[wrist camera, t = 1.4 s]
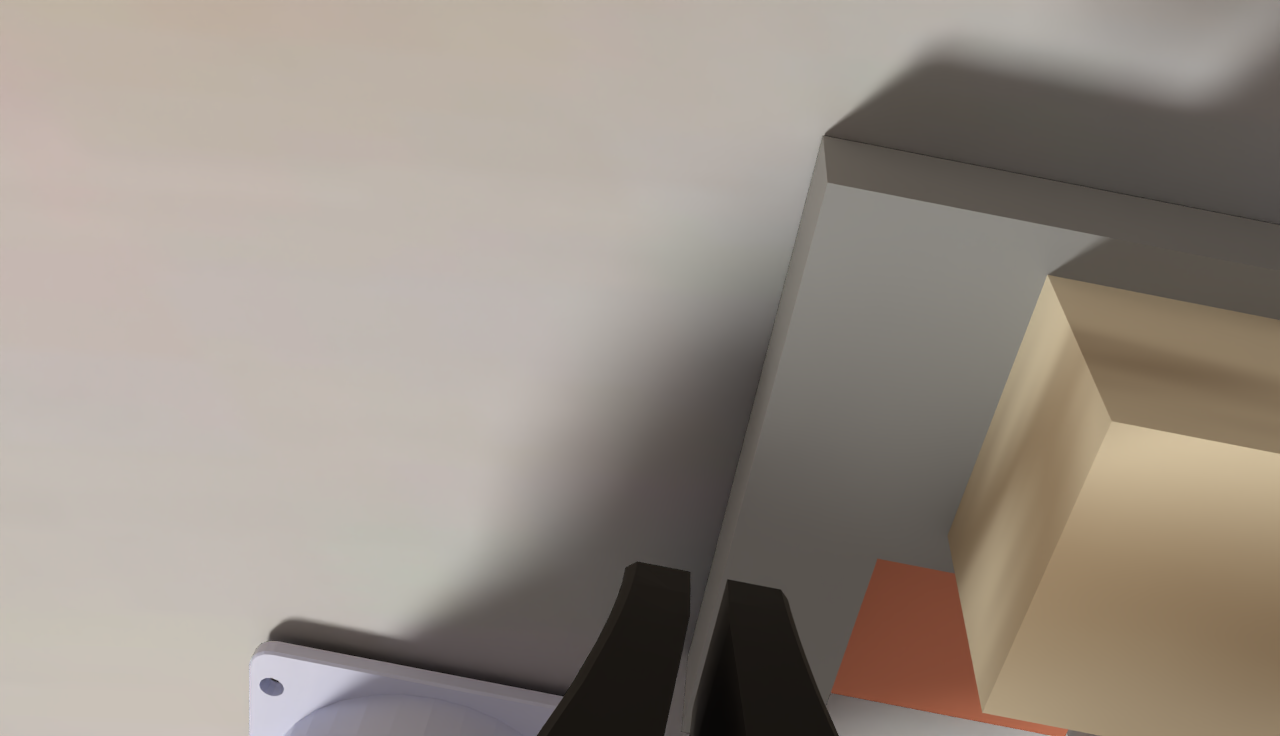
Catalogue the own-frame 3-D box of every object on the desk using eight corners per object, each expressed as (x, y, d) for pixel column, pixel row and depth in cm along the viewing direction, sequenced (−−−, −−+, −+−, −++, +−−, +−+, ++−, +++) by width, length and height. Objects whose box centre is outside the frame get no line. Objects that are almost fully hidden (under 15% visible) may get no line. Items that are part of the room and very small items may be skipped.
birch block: (1236, 592, 21) (1329, 780, 17) (947, 536, 21) (982, 712, 17) (1378, 339, 18) (1521, 500, 15) (1047, 274, 18) (1111, 420, 15)
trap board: (1562, 827, 25) (1668, 985, 22) (687, 658, 25) (675, 794, 22) (1962, 358, 19) (2178, 487, 16) (822, 135, 19) (831, 223, 16)
